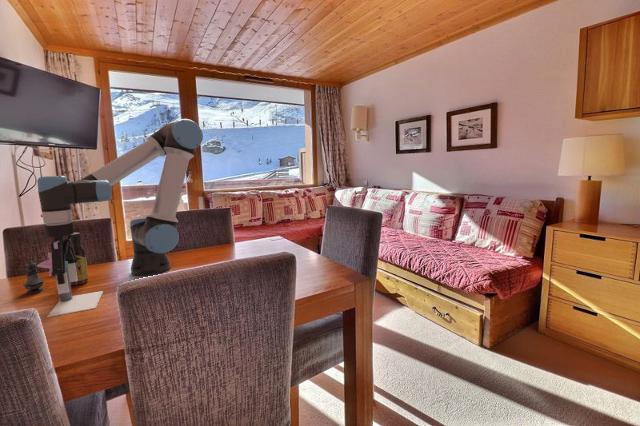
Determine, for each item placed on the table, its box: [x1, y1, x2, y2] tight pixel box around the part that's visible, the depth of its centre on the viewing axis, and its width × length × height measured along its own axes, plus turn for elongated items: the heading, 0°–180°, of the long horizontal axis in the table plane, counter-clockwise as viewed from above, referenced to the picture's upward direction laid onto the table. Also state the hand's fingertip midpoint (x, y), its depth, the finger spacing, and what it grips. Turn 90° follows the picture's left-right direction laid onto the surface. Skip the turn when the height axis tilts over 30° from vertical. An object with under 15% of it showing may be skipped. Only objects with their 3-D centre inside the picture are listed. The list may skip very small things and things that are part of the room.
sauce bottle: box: [70, 232, 89, 286], centre depth 124 cm, size 6×6×20 cm
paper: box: [46, 290, 104, 318], centre depth 106 cm, size 12×16×1 cm
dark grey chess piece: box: [22, 259, 46, 295], centre depth 117 cm, size 6×6×12 cm
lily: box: [36, 252, 53, 277], centre depth 139 cm, size 12×12×10 cm
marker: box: [58, 261, 73, 302], centre depth 108 cm, size 3×3×13 cm
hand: (68, 287), depth 108 cm, fingers open, 11 cm apart
